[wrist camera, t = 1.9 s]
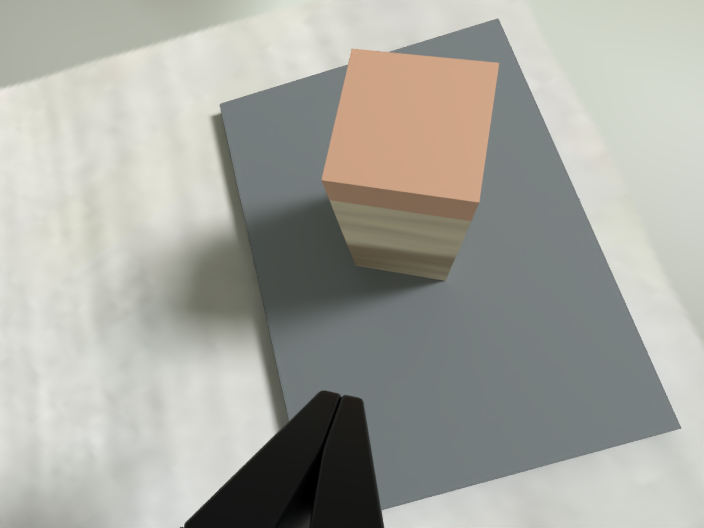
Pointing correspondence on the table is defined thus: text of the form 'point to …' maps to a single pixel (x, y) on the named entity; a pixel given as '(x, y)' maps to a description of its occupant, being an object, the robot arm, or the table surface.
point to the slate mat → (446, 298)
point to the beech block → (409, 158)
